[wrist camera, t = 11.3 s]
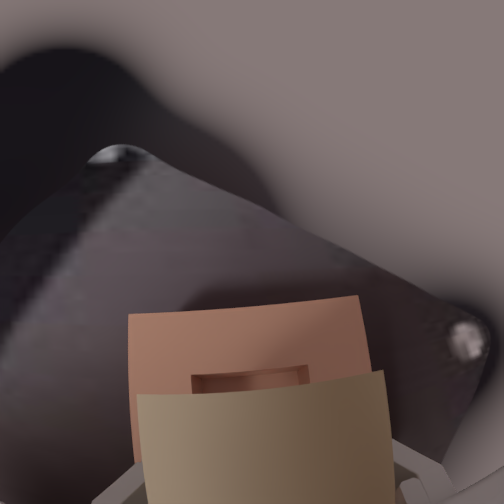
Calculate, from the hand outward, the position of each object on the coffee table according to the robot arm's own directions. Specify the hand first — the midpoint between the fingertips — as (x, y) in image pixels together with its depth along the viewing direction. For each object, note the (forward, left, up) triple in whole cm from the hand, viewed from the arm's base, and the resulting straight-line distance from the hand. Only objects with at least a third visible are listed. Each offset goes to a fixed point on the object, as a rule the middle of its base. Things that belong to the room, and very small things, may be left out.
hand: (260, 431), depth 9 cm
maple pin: (0, -1, -6) cm, 6 cm away
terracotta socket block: (0, -1, -14) cm, 14 cm away
